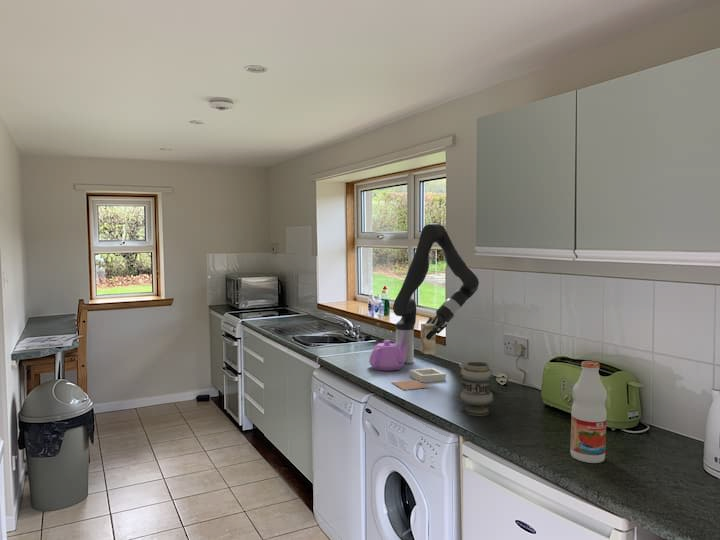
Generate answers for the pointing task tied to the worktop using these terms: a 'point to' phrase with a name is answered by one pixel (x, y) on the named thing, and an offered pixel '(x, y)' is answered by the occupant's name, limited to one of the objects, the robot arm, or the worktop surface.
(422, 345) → the beech block
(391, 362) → the teapot
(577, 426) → the fruit juice
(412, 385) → the mat
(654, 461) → the worktop surface
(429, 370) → the collar frame
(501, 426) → the worktop surface
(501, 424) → the worktop surface
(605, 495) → the worktop surface
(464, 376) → the apothecary jar
